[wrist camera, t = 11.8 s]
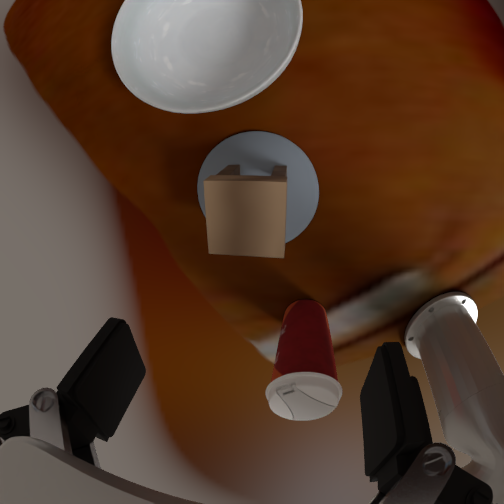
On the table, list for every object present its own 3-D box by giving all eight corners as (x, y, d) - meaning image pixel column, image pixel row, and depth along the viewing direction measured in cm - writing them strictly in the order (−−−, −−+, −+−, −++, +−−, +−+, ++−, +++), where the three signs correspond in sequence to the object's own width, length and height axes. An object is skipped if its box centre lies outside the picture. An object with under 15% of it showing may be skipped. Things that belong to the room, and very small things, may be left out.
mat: (343, 196, 29) (344, 197, 29) (257, 267, 34) (257, 268, 34) (256, 105, 26) (255, 105, 26) (176, 191, 31) (174, 192, 31)
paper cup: (264, 309, 37) (248, 397, 25) (315, 281, 34) (319, 373, 22) (297, 344, 39) (292, 429, 27) (344, 322, 36) (355, 409, 24)
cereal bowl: (235, 143, 28) (217, 152, 22) (120, 70, 25) (82, 67, 19) (334, 23, 21) (345, -1, 14) (205, -42, 18) (184, -69, 11)
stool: (289, 164, 28) (286, 182, 21) (287, 222, 31) (283, 258, 24) (226, 162, 29) (203, 180, 22) (228, 220, 32) (209, 253, 25)
